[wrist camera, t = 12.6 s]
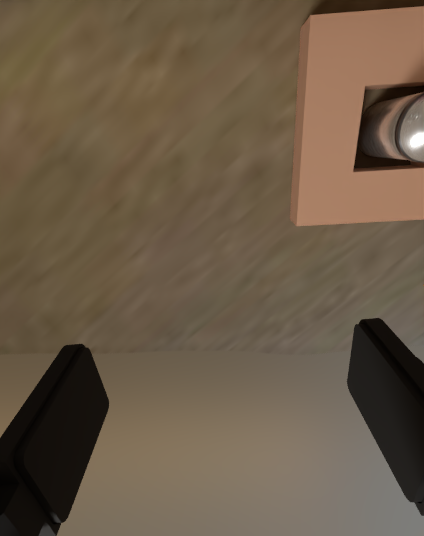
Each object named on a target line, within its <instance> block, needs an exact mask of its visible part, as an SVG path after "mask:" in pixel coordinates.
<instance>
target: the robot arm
mask: <svg viewBox="0 0 424 536" xmlns="http://www.w3.org/2000/svg"><path fill="white" fill-rule="evenodd" d="M347 384H348V389H349V391H350V393H351V395H352V397H353V399H354V401H355V403H356V404H357V407H358V408H359V410H360V412H361V414H362V416H363V418H364V420H365V422H366V424H367V425H368V427H369V429H370V431H371V433H372V435H373V437H374V439H375V440H376V442H377V444H378V446H379V448H380V450H381V451H382V454H383V455H384V457H385V459H386V461H387V463H388V464H389V467H390V469H391V470H392V472H393V474H394V476H395V478H396V480H397V482H398V484H399V486H400V487H401V489H402V491H403V493H404V495H405V496H406V498H407V499H408V500H409V501H410V502H414V503H415V504H416V506H417V508H418V510H419V512H420V514H421V515H422V516H424V363H423V362H422V361H421V360H420V359H418V358H417V357H415V356H414V355H413V353H412V352H411V351H410V350H409V349H408V348H407V347H406V346H405V345H404V343H403V342H402V341H401V340H400V339H399V338H398V337H397V336H396V335H395V334H394V332H393V331H392V330H391V329H390V328H389V327H388V326H387V325H386V324H385V323H384V321H383V320H381V319H380V318H374V319H362V320H361V321H360V322H359V324H356V325H355V327H354V334H353V342H352V349H351V357H350V364H349V372H348V379H347ZM108 408H109V400H108V397H107V394H106V391H105V389H104V387H103V383H102V381H101V378H100V376H99V373H98V370H97V368H96V365H95V362H94V360H93V357H92V354H91V352H90V349H89V348H85V346H84V345H83V344H74V345H66V346H64V347H63V348H62V349H61V351H60V352H59V354H58V355H57V357H56V358H55V360H54V361H53V362H52V364H51V365H50V367H49V368H48V370H47V371H46V373H45V374H44V375H43V377H42V378H41V380H40V381H39V383H38V384H37V386H36V387H35V389H34V390H33V391H32V393H31V394H30V396H29V397H28V399H27V400H26V401H25V403H24V404H23V406H22V407H21V409H20V410H19V412H18V413H17V415H16V416H15V417H14V419H13V420H12V422H11V423H10V425H9V426H8V428H7V429H6V430H5V432H4V433H3V435H2V436H1V438H0V536H56V535H57V533H58V530H59V528H60V525H61V523H62V522H65V521H66V519H67V518H68V515H69V513H70V511H71V508H72V505H73V503H74V500H75V497H76V495H77V492H78V489H79V486H80V484H81V481H82V479H83V476H84V473H85V470H86V468H87V465H88V463H89V460H90V457H91V455H92V452H93V449H94V446H95V444H96V441H97V438H98V436H99V433H100V430H101V428H102V425H103V422H104V419H105V417H106V414H107V412H108Z"/></svg>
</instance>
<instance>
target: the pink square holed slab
mask: <svg viewBox="0 0 424 536" xmlns="http://www.w3.org/2000/svg"><path fill="white" fill-rule="evenodd" d="M414 86H424V6H420V7H407V8H395V9H382V10H369V11H357V12H344V13H331V14H319V15H310V17H309V18H308V19H307V20H306V22H305V23H304V24H303V26H302V27H301V33H300V50H299V68H298V86H297V104H296V121H295V139H294V157H293V175H292V192H291V210H290V220H291V221H292V222H293V223H294V224H295V225H296V226H308V225H326V224H345V223H364V222H383V221H401V220H420V219H424V163H420V162H413V161H411V162H410V165H403V166H386V167H370V168H354V162H355V155H356V148H357V141H358V134H359V127H360V120H361V113H362V105H363V98H364V91H365V90H371V89H385V88H399V87H414Z"/></svg>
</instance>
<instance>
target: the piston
mask: <svg viewBox="0 0 424 536" xmlns="http://www.w3.org/2000/svg"><path fill="white" fill-rule="evenodd" d="M357 146H358V148H359V149H360V150H361V151H362V152H363V153H364V154H366V155H368V156H373V157H383V158H393V159H403V160H409V161H413V162H420V163H424V92H422V93H418V94H413V95H409V96H405V97H400V98H396V99H391V100H387V101H383V102H379V103H376V104H374V105H373V106H371V107H370V108H368V109H367V110H366V111H365V112H364V114H363V115H362V116H361V120H360V127H359V134H358V141H357Z"/></svg>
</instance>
